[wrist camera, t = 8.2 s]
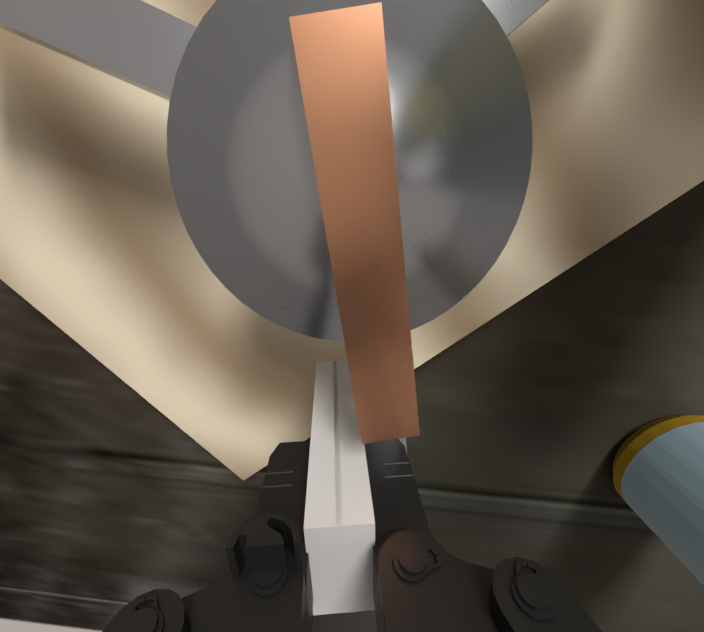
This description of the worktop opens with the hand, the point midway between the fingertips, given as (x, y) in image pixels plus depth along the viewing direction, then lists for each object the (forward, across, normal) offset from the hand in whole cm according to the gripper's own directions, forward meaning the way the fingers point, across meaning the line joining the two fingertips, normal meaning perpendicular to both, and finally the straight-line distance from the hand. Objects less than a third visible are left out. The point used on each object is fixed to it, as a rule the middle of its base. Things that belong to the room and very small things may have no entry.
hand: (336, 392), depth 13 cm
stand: (+4, -1, +10) cm, 11 cm away
